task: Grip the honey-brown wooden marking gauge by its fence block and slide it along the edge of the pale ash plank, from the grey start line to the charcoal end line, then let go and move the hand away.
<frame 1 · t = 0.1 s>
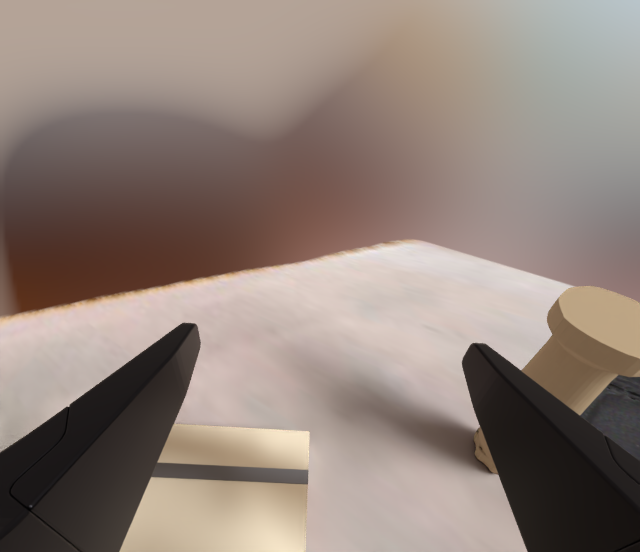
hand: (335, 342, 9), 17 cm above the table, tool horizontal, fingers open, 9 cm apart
handle: (490, 455, 23), on the table
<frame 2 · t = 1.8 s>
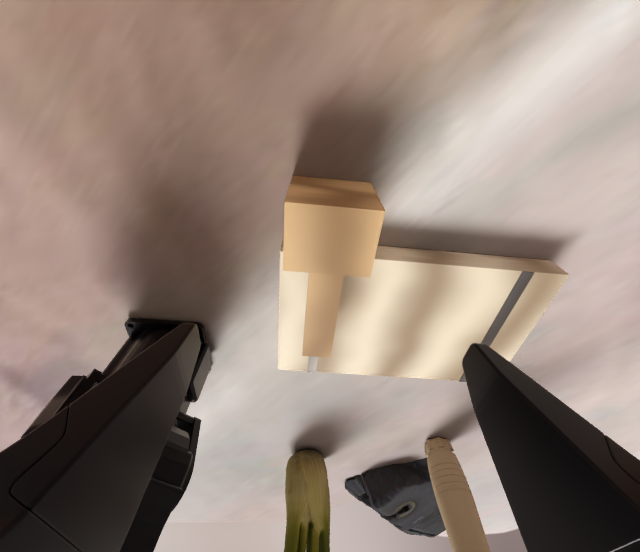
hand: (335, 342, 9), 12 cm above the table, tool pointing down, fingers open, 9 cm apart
fennel bulb: (308, 453, 39), on the table
ash plank: (399, 311, 24), on the table
handle: (435, 440, 37), on the table
marking gauge: (328, 208, 19), on the table
dark slate chunk: (411, 488, 46), on the table
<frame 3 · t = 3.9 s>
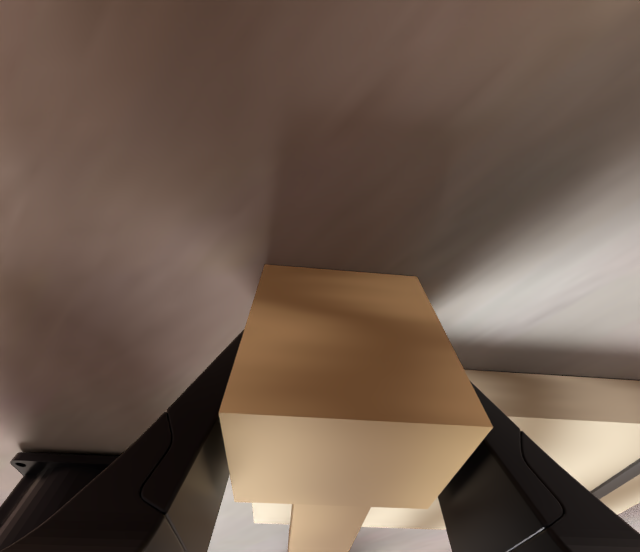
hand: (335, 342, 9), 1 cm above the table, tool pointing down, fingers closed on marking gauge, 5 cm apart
ash plank: (444, 443, 15), on the table
marking gauge: (334, 316, 10), on the table, touching gripper
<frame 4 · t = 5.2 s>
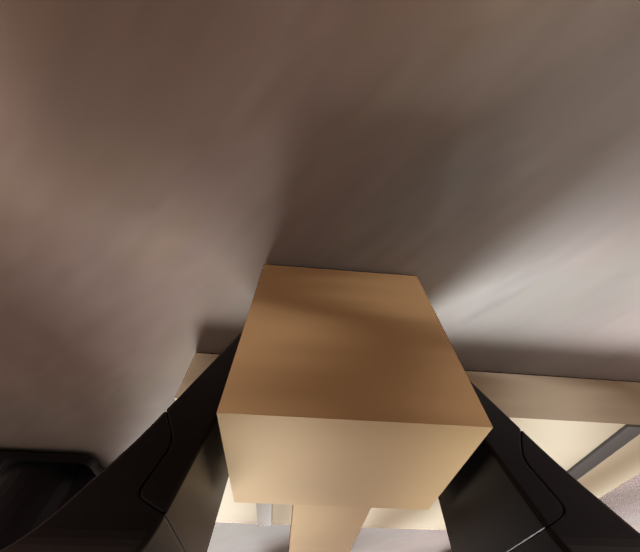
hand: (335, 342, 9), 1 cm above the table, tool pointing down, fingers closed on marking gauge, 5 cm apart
ash plank: (400, 441, 15), on the table
marking gauge: (334, 316, 10), on the table, touching gripper
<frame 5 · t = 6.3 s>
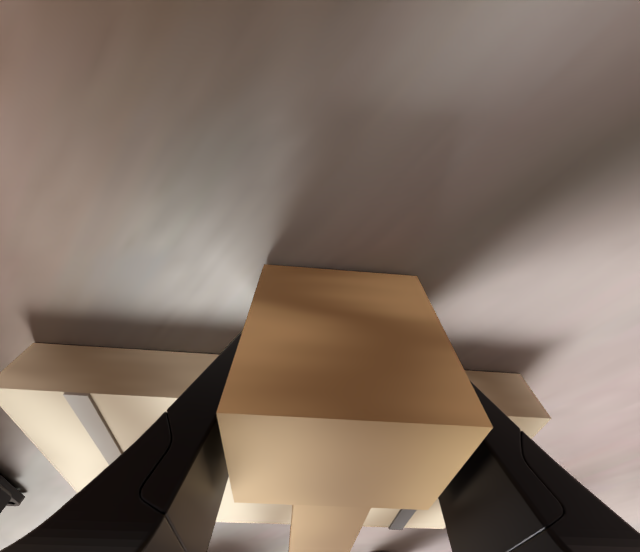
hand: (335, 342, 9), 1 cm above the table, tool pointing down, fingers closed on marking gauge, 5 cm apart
ash plank: (284, 435, 15), on the table
marking gauge: (334, 316, 10), on the table, touching gripper
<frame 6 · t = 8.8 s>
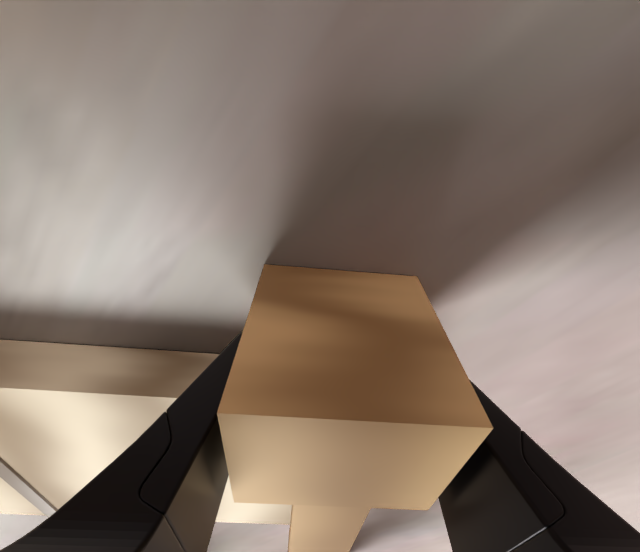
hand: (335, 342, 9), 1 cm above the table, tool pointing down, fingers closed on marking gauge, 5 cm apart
ash plank: (181, 429, 15), on the table
marking gauge: (334, 316, 10), on the table, touching gripper
when the fingers open (1 cm above the table, at t = 8.8 s): marking gauge stays where it is, on the table.
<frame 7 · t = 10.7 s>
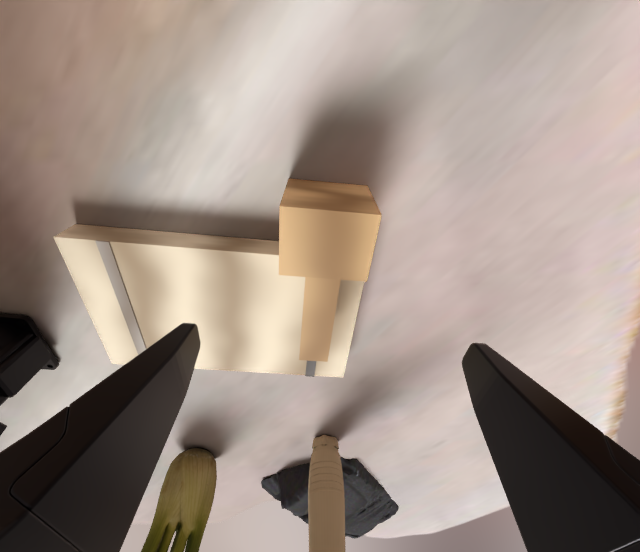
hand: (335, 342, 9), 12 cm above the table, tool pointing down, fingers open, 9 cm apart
fennel bulb: (200, 452, 38), on the table
ash plank: (230, 302, 23), on the table
handle: (325, 438, 36), on the table
marking gauge: (325, 212, 19), on the table
dark slate chunk: (334, 488, 45), on the table
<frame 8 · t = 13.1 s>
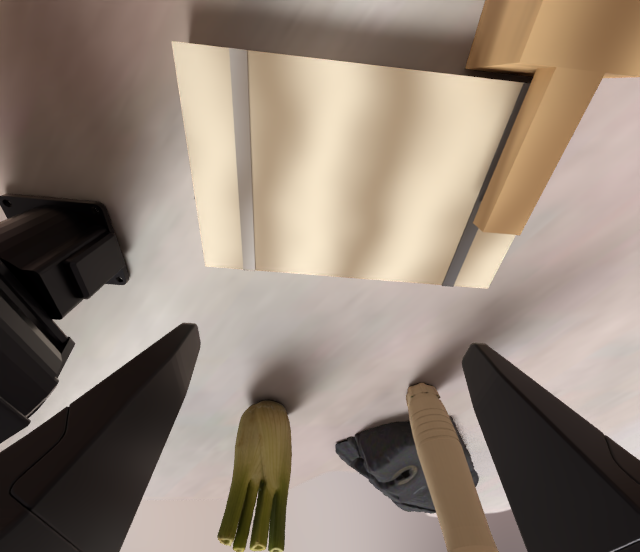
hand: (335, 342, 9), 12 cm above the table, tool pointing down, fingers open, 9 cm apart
fennel bulb: (269, 407, 33), on the table
ash plank: (361, 183, 18), on the table
handle: (419, 388, 31), on the table
marking gauge: (528, 25, 14), on the table
dark slate chunk: (411, 456, 40), on the table
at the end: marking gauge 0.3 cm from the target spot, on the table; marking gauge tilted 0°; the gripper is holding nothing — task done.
